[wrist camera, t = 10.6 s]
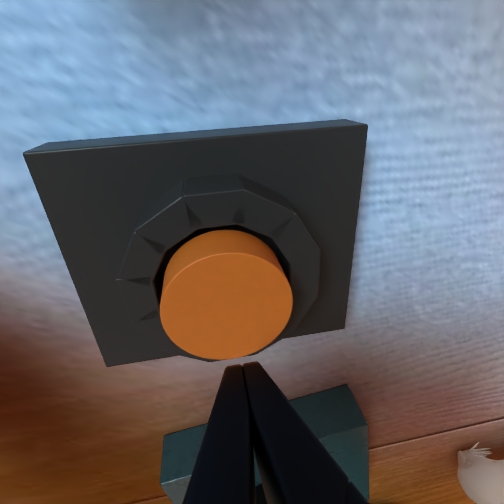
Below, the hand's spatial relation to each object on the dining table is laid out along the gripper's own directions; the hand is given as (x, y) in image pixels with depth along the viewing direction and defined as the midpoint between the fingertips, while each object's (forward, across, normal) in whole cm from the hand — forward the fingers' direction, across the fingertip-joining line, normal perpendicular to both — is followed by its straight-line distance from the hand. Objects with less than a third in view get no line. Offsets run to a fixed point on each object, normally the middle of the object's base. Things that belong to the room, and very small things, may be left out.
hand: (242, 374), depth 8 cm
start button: (+4, 0, 0) cm, 4 cm away
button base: (+8, 0, 0) cm, 8 cm away
